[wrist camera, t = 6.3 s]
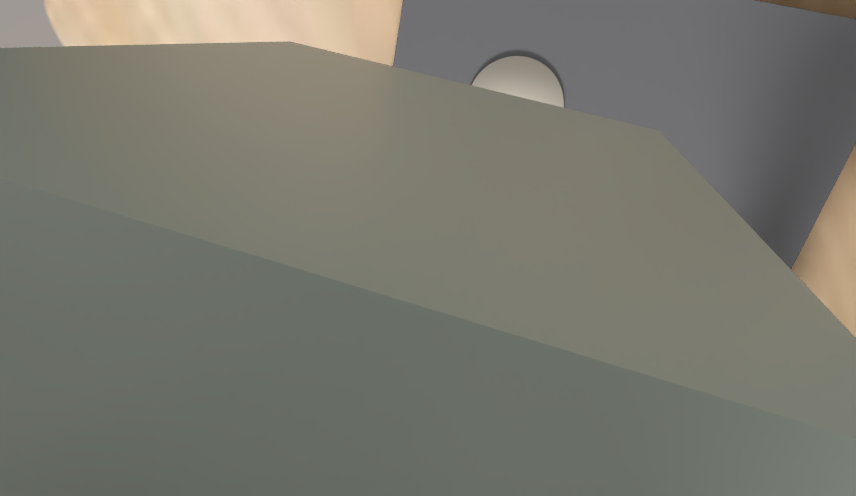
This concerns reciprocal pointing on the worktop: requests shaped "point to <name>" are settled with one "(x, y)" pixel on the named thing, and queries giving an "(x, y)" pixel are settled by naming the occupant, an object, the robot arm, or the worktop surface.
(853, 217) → the worktop surface
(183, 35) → the worktop surface
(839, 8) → the worktop surface
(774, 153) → the board
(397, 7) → the worktop surface
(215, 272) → the pale green block
